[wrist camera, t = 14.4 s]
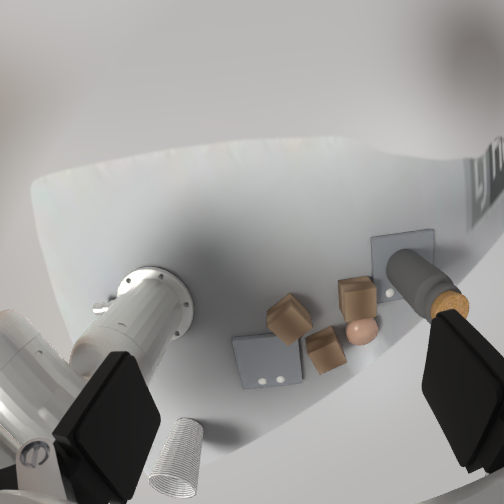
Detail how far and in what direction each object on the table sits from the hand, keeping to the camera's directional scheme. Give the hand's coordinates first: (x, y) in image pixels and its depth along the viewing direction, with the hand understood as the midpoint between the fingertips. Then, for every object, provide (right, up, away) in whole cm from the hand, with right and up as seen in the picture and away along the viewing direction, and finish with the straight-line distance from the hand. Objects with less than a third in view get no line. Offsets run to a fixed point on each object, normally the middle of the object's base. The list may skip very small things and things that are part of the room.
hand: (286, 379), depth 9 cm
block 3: (+14, -2, +36) cm, 38 cm away
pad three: (+21, +2, +34) cm, 40 cm away
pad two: (+2, -14, +40) cm, 42 cm away
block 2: (+10, -10, +38) cm, 41 cm away
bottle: (+21, +2, +33) cm, 39 cm away
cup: (-14, -31, +46) cm, 57 cm away
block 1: (+4, -5, +37) cm, 38 cm away
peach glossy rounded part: (+16, -8, +37) cm, 41 cm away
